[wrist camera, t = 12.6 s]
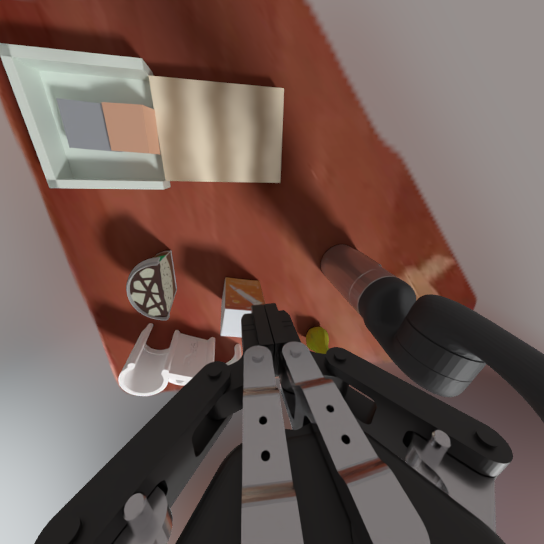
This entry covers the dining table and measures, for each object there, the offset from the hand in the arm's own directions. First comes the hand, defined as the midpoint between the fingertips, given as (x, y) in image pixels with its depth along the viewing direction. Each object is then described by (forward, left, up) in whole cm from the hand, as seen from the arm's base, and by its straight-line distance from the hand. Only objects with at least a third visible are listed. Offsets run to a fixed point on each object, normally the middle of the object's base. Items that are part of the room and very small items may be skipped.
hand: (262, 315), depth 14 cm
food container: (+17, +12, -35) cm, 41 cm away
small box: (0, +18, -35) cm, 40 cm away
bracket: (+13, +34, -35) cm, 51 cm away
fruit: (-20, +33, -35) cm, 52 cm away
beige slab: (+2, -13, -35) cm, 37 cm away
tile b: (+21, -13, -34) cm, 43 cm away
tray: (+20, -13, -35) cm, 42 cm away
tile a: (+15, -13, -33) cm, 38 cm away
